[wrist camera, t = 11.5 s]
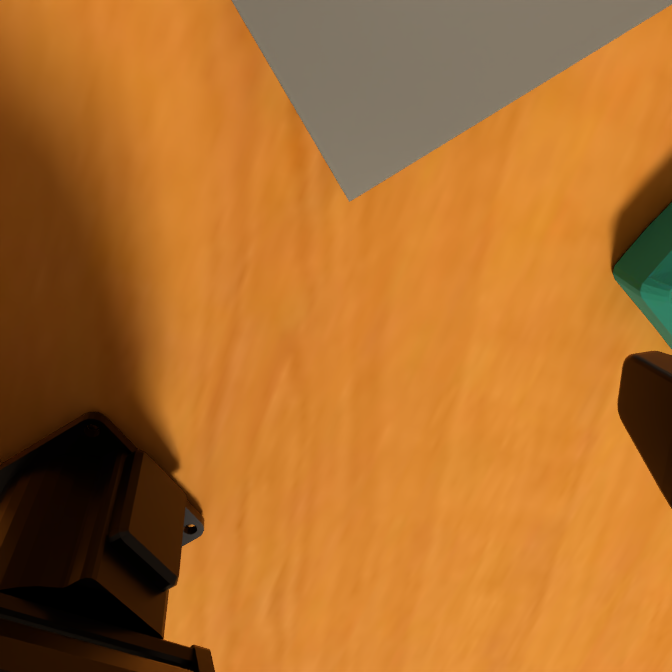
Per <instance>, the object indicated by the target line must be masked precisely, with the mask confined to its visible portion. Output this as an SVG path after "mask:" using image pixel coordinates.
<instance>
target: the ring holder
mask: <svg viewBox="0 0 672 672" xmlns="http://www.w3.org/2000/svg"><path fill="white" fill-rule="evenodd" d="M232 2H233V4H234V5H235V7H236V9H237V10H238V12H239V14H240V15H241V17H242V19H243V21H244V22H245V24H246V26H247V27H248V29H249V31H250V33H251V34H252V36H253V38H254V39H255V41H256V43H257V45H258V46H259V48H260V50H261V51H262V53H263V55H264V57H265V58H266V60H267V62H268V63H269V65H270V67H271V69H272V70H273V72H274V74H275V75H276V77H277V79H278V81H279V82H280V84H281V86H282V87H283V89H284V91H285V92H286V94H287V96H288V98H289V99H290V101H291V103H292V104H293V106H294V108H295V110H296V111H297V113H298V115H299V116H300V118H301V120H302V122H303V123H304V125H305V127H306V128H307V130H308V132H309V134H310V135H311V137H312V139H313V140H314V142H315V144H316V146H317V147H318V149H319V151H320V152H321V154H322V156H323V157H324V159H325V161H326V163H327V164H328V166H329V168H330V169H331V171H332V173H333V175H334V176H335V178H336V180H337V181H338V183H339V185H340V187H341V188H342V190H343V192H344V193H345V195H346V197H347V199H348V200H349V202H350V201H352V200H353V199H355V198H356V197H358V196H360V195H361V194H363V193H365V192H366V191H368V190H369V189H371V188H373V187H374V186H376V185H378V184H379V183H381V182H383V181H384V180H386V179H387V178H389V177H391V176H392V175H394V174H396V173H397V172H399V171H400V170H402V169H404V168H405V167H407V166H409V165H410V164H412V163H414V162H415V161H417V160H418V159H420V158H422V157H423V156H425V155H427V154H428V153H430V152H431V151H433V150H435V149H436V148H438V147H440V146H441V145H443V144H445V143H446V142H448V141H449V140H451V139H453V138H454V137H456V136H458V135H459V134H461V133H462V132H464V131H466V130H467V129H469V128H471V127H472V126H474V125H476V124H477V123H479V122H480V121H482V120H484V119H485V118H487V117H489V116H490V115H492V114H493V113H495V112H497V111H498V110H500V109H502V108H503V107H505V106H507V105H508V104H510V103H511V102H513V101H515V100H516V99H518V98H520V97H521V96H523V95H524V94H526V93H528V92H529V91H531V90H533V89H534V88H536V87H538V86H539V85H541V84H542V83H544V82H546V81H547V80H549V79H551V78H552V77H554V76H555V75H557V74H559V73H560V72H562V71H564V70H565V69H567V68H569V67H570V66H572V65H573V64H575V63H577V62H578V61H580V60H582V59H583V58H585V57H586V56H588V55H590V54H591V53H593V52H595V51H596V50H598V49H600V48H601V47H603V46H604V45H606V44H608V43H609V42H611V41H613V40H614V39H616V38H617V37H619V36H621V35H622V34H624V33H626V32H627V31H629V30H631V29H632V28H634V27H635V26H637V25H639V24H640V23H642V22H644V21H645V20H647V19H649V18H650V17H652V16H653V15H655V14H657V13H658V12H660V11H662V10H663V9H665V8H666V7H668V6H670V5H671V4H672V0H232Z"/></svg>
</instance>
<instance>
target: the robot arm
mask: <svg viewBox="0 0 672 672" xmlns="http://www.w3.org/2000/svg"><path fill="white" fill-rule="evenodd" d="M618 412H619V416H620V419H621V421H622V423H623V425H624V426H625V428H626V430H627V432H628V433H629V435H630V437H631V439H632V441H633V442H634V444H635V446H636V448H637V449H638V451H639V453H640V455H641V457H642V458H643V460H644V462H645V464H646V465H647V467H648V469H649V471H650V473H651V474H652V476H653V478H654V480H655V482H656V483H657V485H658V487H659V489H660V490H661V492H662V494H663V495H664V497H665V499H666V500H667V502H668V504H669V505H670V507H671V508H672V355H669V354H666V353H662V352H659V351H649V352H642V353H636V354H631V355H629V356H628V357H627V358H626V359H625V361H624V363H623V367H622V374H621V381H620V388H619V395H618ZM88 425H96V426H97V427H99V430H91V429H89V428H88V427H87V426H88ZM189 524H193V525H195V526H193V527H188V526H186V525H189ZM203 531H204V518H203V516H202V515H201V514H200V513H199V512H198V511H197V510H196V509H195V508H194V507H193V506H192V505H191V504H190V503H189V502H188V501H187V500H186V494H185V493H184V492H183V491H182V490H181V488H180V487H179V486H178V485H177V484H176V483H175V482H174V481H173V480H172V479H171V478H170V477H169V476H168V475H167V474H166V473H165V472H164V471H163V470H162V469H161V468H160V467H159V466H158V465H157V464H156V463H155V462H154V461H153V459H152V458H151V457H150V456H149V455H148V454H147V453H146V452H143V451H140V450H138V449H137V448H136V447H135V446H134V445H133V444H132V443H131V442H130V441H129V440H128V439H127V438H126V437H125V436H124V435H123V434H122V433H121V432H120V431H119V430H118V429H117V428H116V427H115V425H114V424H113V423H112V422H111V421H110V420H109V419H108V418H107V417H106V416H104V415H103V414H101V413H97V412H89V413H86V414H84V415H82V416H81V417H79V418H77V419H76V420H74V421H72V422H71V423H69V424H67V425H66V426H64V427H62V428H61V429H59V430H57V431H56V432H54V433H52V434H51V435H49V436H47V437H46V438H44V439H42V440H41V441H39V442H37V443H36V444H34V445H32V446H31V447H29V448H27V449H26V450H24V451H22V452H21V453H19V454H17V455H16V456H14V457H12V458H11V459H9V460H7V461H6V462H4V463H2V464H1V465H0V672H215V670H214V665H213V661H212V656H211V652H210V649H207V648H203V647H200V646H196V645H192V646H191V647H187V646H184V645H180V644H177V643H173V642H170V641H166V640H163V638H164V629H165V620H166V611H167V602H168V593H169V589H170V588H172V587H174V586H176V585H177V582H178V577H179V569H180V559H181V548H182V546H184V545H185V544H187V543H189V542H191V541H193V540H194V539H196V538H198V537H199V536H201V535H202V533H203Z"/></svg>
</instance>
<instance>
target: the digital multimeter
mask: <svg viewBox="0 0 672 672" xmlns="http://www.w3.org/2000/svg"><path fill="white" fill-rule="evenodd" d="M613 275H614V278H615V280H616V281H617V282H618V284H619V285H620V286H621V287H622V288H623V290H624V291H625V292H626V293H627V294H628V296H629V297H630V298H631V299H632V301H633V302H634V303H635V304H636V305H637V307H638V308H639V309H640V310H641V311H642V313H643V314H644V315H645V316H646V317H647V319H648V320H649V321H650V322H651V323H652V325H653V326H654V327H655V328H656V330H657V331H658V332H659V334H660V335H661V336H662V337H663V339H664V340H665V341H666V343H667V344H668V345H669V346H670V348H671V349H672V202H671V203H670V204H669V206H668V207H667V208H666V209H665V210H664V211H663V212H662V213H661V214H660V215H659V216H658V217H657V218H656V219H655V220H654V221H653V222H652V223H651V224H650V225H649V226H648V227H647V228H646V229H645V231H644V232H643V233H642V234H641V235H640V236H639V238H638V239H637V240H636V241H635V242H634V243H633V245H632V246H631V247H630V248H629V249H628V250H627V252H626V253H625V254H624V255H623V256H622V257H621V259H620V260H619V261H618V262H617V263H616V265H615V267H614V270H613Z"/></svg>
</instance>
